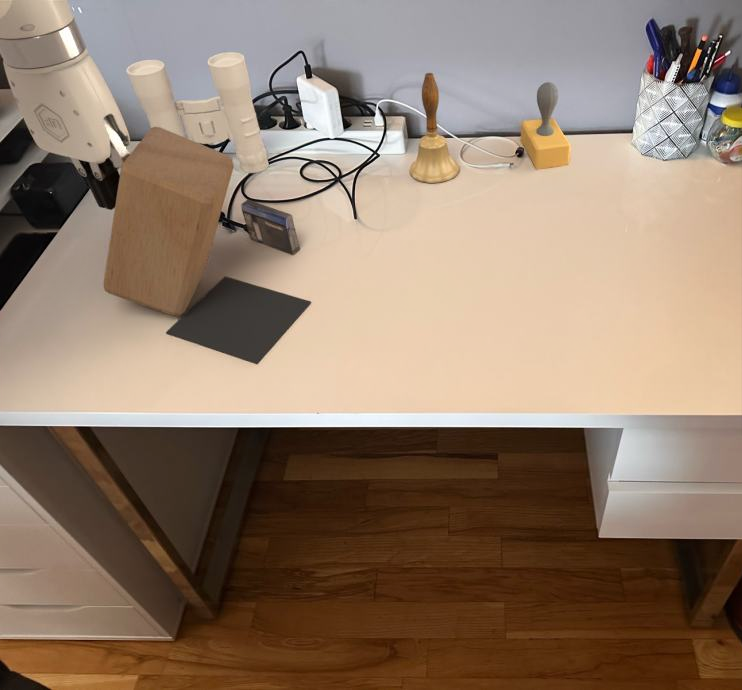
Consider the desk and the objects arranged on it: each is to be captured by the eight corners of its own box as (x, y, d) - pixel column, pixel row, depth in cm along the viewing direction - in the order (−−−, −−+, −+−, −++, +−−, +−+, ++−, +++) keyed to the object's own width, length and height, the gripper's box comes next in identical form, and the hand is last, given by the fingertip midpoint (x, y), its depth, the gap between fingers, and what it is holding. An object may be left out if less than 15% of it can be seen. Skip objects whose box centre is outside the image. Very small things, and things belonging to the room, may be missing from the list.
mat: (257, 364, 81) (256, 362, 81) (166, 333, 85) (165, 332, 85) (311, 302, 89) (310, 301, 88) (225, 277, 93) (224, 276, 93)
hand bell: (409, 159, 114) (400, 65, 103) (458, 156, 114) (454, 62, 103) (409, 185, 108) (400, 88, 97) (460, 182, 108) (457, 85, 97)
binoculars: (271, 156, 116) (245, 50, 103) (270, 172, 112) (243, 64, 100) (169, 167, 114) (129, 61, 102) (165, 184, 110) (123, 76, 98)
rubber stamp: (520, 140, 117) (522, 72, 109) (552, 136, 118) (557, 68, 110) (535, 169, 111) (539, 99, 102) (569, 164, 111) (576, 94, 103)
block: (181, 321, 86) (213, 199, 74) (99, 293, 83) (119, 161, 71) (204, 274, 94) (237, 156, 81) (130, 247, 91) (152, 120, 78)
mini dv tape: (250, 239, 99) (240, 204, 95) (257, 233, 100) (247, 199, 96) (293, 255, 96) (284, 220, 92) (300, 249, 97) (291, 214, 93)
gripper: (-44, 48, 66) (43, 206, 79) (68, 70, 62) (141, 233, 75) (18, 21, 71) (90, 174, 84) (126, 40, 67) (185, 198, 80)
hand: (114, 202), depth 79 cm, fingers closed
